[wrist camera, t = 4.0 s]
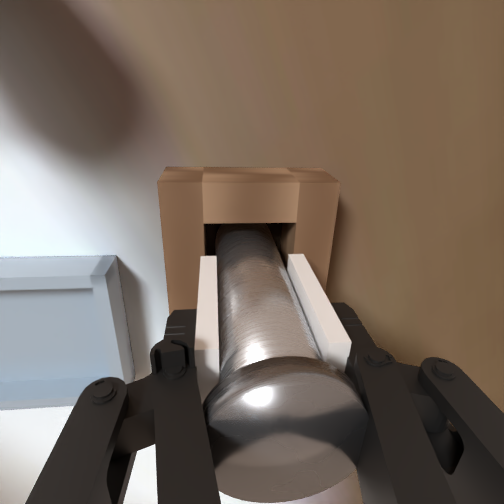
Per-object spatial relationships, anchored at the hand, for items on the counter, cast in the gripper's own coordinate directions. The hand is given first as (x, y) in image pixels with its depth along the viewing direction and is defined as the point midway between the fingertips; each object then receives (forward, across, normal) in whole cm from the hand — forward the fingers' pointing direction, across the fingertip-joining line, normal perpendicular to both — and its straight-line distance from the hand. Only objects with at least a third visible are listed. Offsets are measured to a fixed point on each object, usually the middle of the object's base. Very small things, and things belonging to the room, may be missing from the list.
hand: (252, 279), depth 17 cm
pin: (+5, 0, 0) cm, 5 cm away
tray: (+5, -15, -6) cm, 17 cm away
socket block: (+5, 0, 0) cm, 5 cm away
